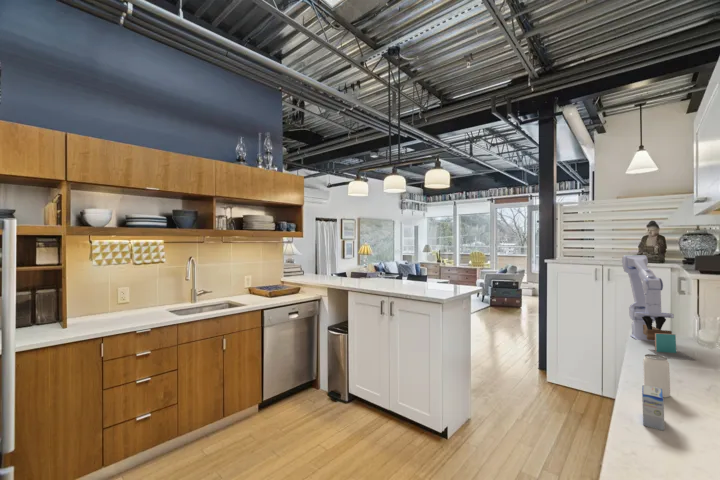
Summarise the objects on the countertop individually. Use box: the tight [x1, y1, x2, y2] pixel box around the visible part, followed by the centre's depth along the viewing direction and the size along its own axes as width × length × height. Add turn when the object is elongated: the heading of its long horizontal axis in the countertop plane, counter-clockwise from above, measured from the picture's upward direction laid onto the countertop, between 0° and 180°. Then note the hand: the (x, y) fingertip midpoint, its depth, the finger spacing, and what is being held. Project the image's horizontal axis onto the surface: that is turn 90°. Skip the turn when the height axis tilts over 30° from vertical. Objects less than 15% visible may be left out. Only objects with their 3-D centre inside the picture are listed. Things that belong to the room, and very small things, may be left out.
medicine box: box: [641, 384, 665, 431], centre depth 94 cm, size 8×4×9 cm, turn 141°
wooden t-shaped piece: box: [643, 325, 673, 341], centre depth 163 cm, size 13×9×4 cm
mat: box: [648, 348, 696, 361], centre depth 149 cm, size 12×12×1 cm
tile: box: [654, 333, 677, 353], centre depth 152 cm, size 1×7×8 cm, turn 71°
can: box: [642, 353, 671, 399], centre depth 112 cm, size 6×6×12 cm
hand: (654, 332), depth 162 cm, fingers closed on wooden t-shaped piece, 2 cm apart
